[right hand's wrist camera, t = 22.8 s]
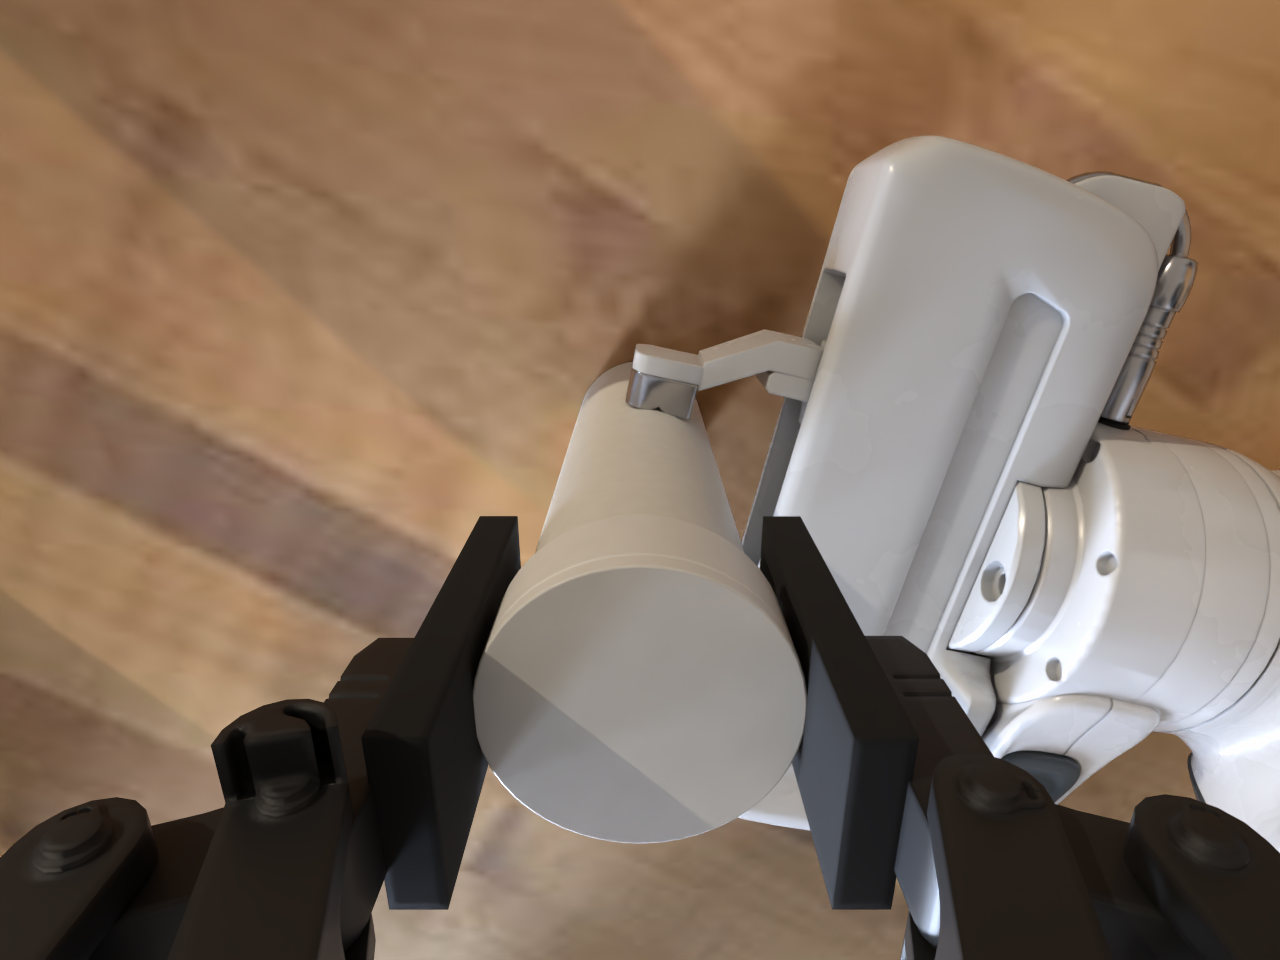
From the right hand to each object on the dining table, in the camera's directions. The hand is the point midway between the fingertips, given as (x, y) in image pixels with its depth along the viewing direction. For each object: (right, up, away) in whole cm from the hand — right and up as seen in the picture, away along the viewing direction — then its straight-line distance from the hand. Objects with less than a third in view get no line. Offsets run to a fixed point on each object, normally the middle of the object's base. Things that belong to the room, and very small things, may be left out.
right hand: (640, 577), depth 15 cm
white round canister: (0, -1, -4) cm, 4 cm away
